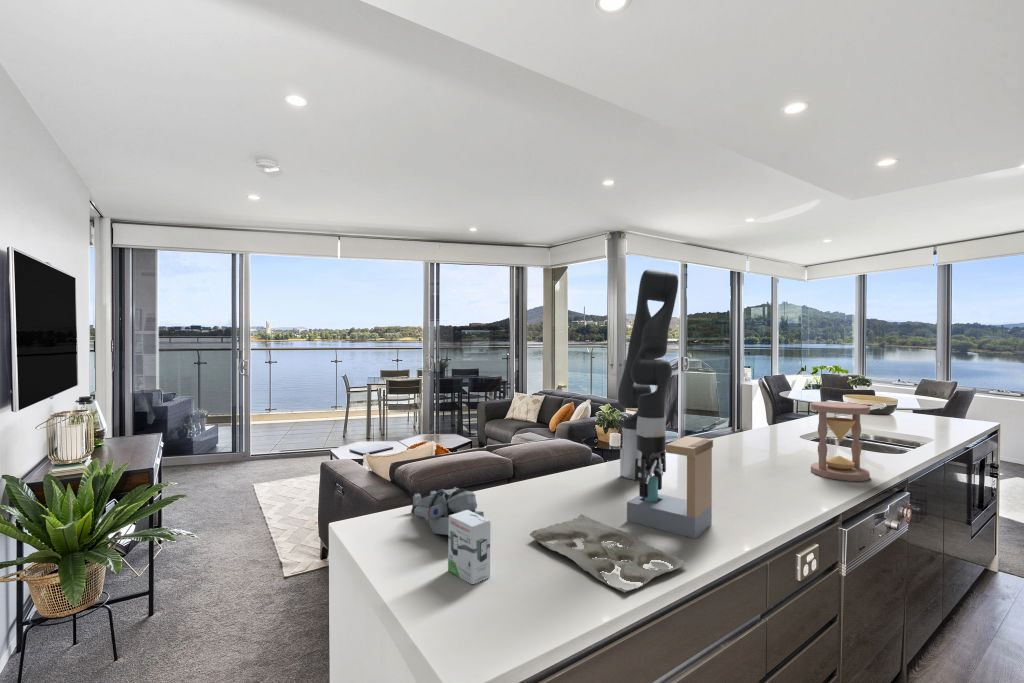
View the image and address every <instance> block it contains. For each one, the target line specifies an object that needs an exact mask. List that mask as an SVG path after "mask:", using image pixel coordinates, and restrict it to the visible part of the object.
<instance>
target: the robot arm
mask: <svg viewBox="0 0 1024 683" xmlns="http://www.w3.org/2000/svg"><path fill="white" fill-rule="evenodd" d="M678 288H679V276H678V274H676V273H675V272H671V271H666V270H665V271H663V270H656V269H645V270H644V271H643V273H642V274H641V277H640V282H639V287H638V293H637V301H636V308H635V316H634V320H633V325H632V329H631V334H630V339H629V341H628V342H629V343H628V347H627V356H626V360H625V365H624V370H623V373H622V377H621V380H620V383H619V386H618V391H617V402H618V405H619V406H620V407H621V408H622V409H637V410H636V412H634V413H633V414H632V415H629V416H628V417H625V418H624V419H623V420H622V448H620V450H619V452H620V453H619V454H620V455H619V459H620V460H619V461H620V462H619V467H620V468H619V470H620V472H619V476H620V477H624V478H625V479H629V480H634V482H637V483H639V486H638V487H639V493H638V494H639V495H640V497H644V498H647V497H648V481H649V478H650V476H656V477H658V491H661V490H662V488H663V487H662V486H663V476H664V473H666V471H667V462H666V461H667V456H666V444H667V443H666V441H667V440H666V432H667V431H666V430H667V429H666V418H665V415H666V414H665V404H666V395H667V391H668V387H669V384H670V381H671V378H672V375H673V374H672V373H673V369H672V365H671V364H670V362H669V361H668V360H666V359H661V358H664V356H666V354H667V350H668V338H669V329H670V325H671V322H672V321H671V320H672V317H673V314H674V313H673V312H674V308H675V304H676V298H677V295H678ZM648 301H653V302H661V303H662V302H663V305H661V307H660V308H659V310H658V311H657V312H655V314H653V316H652V315H651V313H650V309H649V304H648ZM651 386H656V390H655V391H653V392H652V388H651ZM645 476H646V478H645ZM639 495H638V496H639Z"/></svg>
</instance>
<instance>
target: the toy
mask: <svg viewBox="0 0 1024 683" xmlns="http://www.w3.org/2000/svg"><path fill="white" fill-rule="evenodd" d="M411 502H412V505H411V506H412V508H411V509H410V512H411V513H410V514H414V516H418V517H422V518H424V519H428V523H429V526H430V529H431V531H432V533H433V534H438V535H442V536H443V535H446V536H448V535H449V515H452V514H455V513H459V512H462V511H465V510H469V511H472V512H474V513H476V514H478V515H480V516H482V517H484V518H485V515H484V514H485V513H484V511H482V510H481V511H480V510H479V511H478V510H477V508H478V503H477V498H476V494H475V492H474V491H471V490H469V489H465V488H457V487H456V486H454V487H453V488H451V489H444V488H442V489H439V490H437V491H436V490H429V493H428V496H424V497H422V496H421V494H420V493H414V494H413V495H412V500H411Z"/></svg>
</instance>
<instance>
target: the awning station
mask: <svg viewBox="0 0 1024 683" xmlns="http://www.w3.org/2000/svg"><path fill="white" fill-rule="evenodd" d="M712 448H714V439H712V438H704V437H697V436H690V435H689V436H688V435H686V436H683V437H680V438H679V439H676V440H674V441H671V442H669V443H666V448H665V452H666V453H667V454H673V455H677V456H679V455H680V456H685V457H686V499H685V498H679V497H675V496H670V495H667V494H666V495H665V494H661V493H658V503H656V504H654V503H650V502H646V501H645V498H644V497H640V495H637V496H635V497H634V498H632V499H630V500H628V501H627V502H626V521H627V522H630V521H631V523H635V524H637V523H638V524H639V525H642V526H646V527H648V528H649V527H650V528H654V529H657V530H661V531H664V532H669V533H672V534H675V535H678V536H679V535H680V536H683V537H687V536H688V537H687V538H690V537H691V539H694V538H695V539H697V538H698V537H699V536H700V535H701V534H702V533H703V532H705V529H706V530H707V529H708V528H709V527H710V526H712V525H713V524H712V522H713V521H712V520H713V519H712V518H713V517H712V507H713V506H712V505H713V504H712V502H713V501H712V500H713V499H712V497H713V496H712V495H713V494H712V491H713V488H712V486H713V485H712V484H713V483H712V482H713V481H712V480H713V479H712V478H713V477H712V476H713V473H712V472H713V471H712V469H713V464H712V462H713V449H712ZM698 535H699V536H698Z"/></svg>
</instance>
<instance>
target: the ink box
mask: <svg viewBox="0 0 1024 683" xmlns="http://www.w3.org/2000/svg"><path fill="white" fill-rule="evenodd" d="M447 536H448V554H447V557H448V558H447V562H448V563H447V570H448V572H450V573H451V574H453V575H455V576H457V577H458V578H459V579H462V580H464V581H465V582H466V581H467V582H466V583H468V582H469V583H468V584H470V583H471V584H474V585H476V584H479V583H481V582H483V581H485V579H486V580H488V579H490V578H491V521H490V519H489V518H487V517H485V516H484V517H482V516H480V515H478V514H476V513H474V512H472V511H469V510H465V511H462V512H459V513H455V514H452V515H449V535H447ZM489 577H490V578H489ZM487 578H488V579H487ZM482 580H483V581H482ZM480 581H481V582H480ZM478 582H479V583H478ZM475 583H476V584H475ZM471 584H470V585H471Z"/></svg>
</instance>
